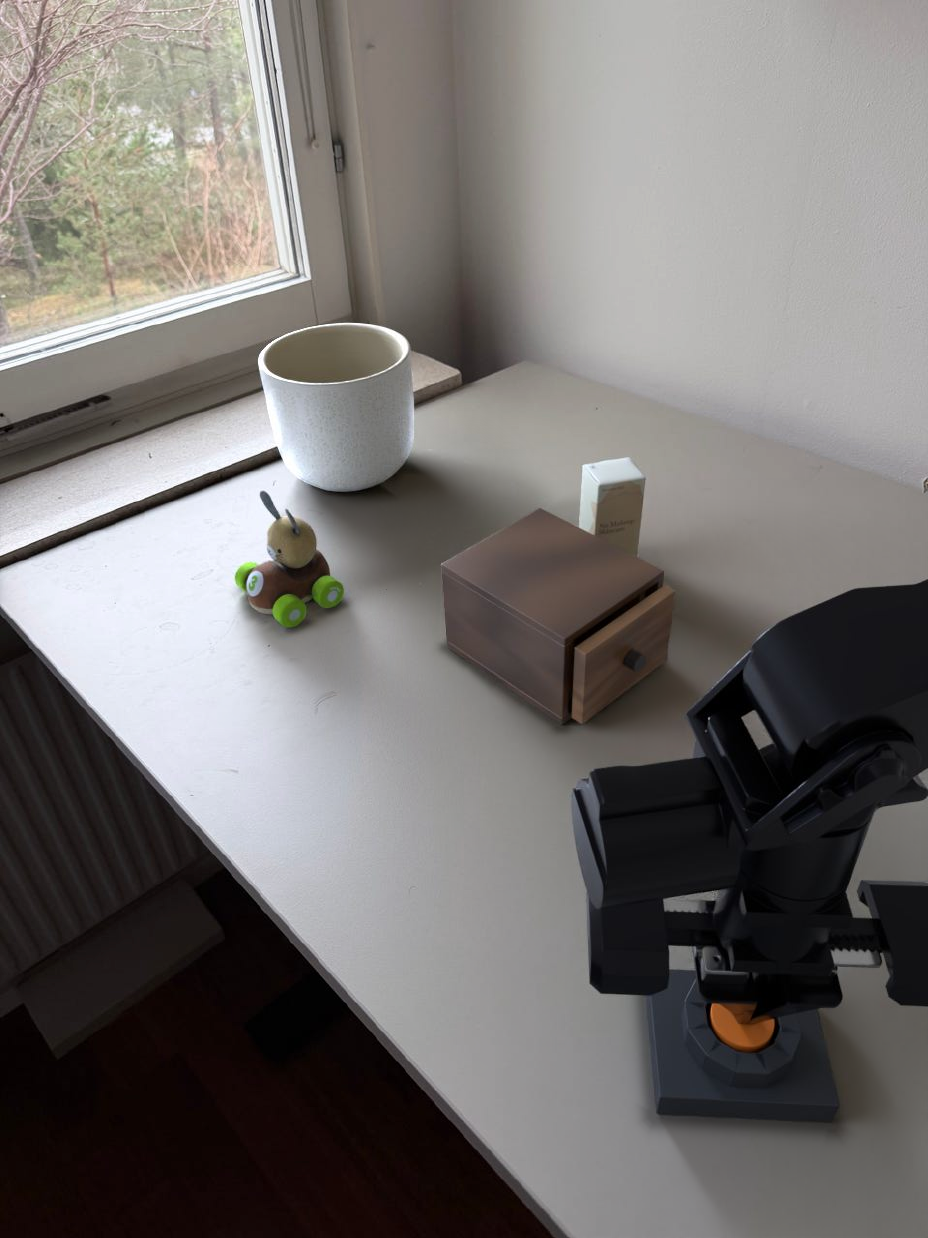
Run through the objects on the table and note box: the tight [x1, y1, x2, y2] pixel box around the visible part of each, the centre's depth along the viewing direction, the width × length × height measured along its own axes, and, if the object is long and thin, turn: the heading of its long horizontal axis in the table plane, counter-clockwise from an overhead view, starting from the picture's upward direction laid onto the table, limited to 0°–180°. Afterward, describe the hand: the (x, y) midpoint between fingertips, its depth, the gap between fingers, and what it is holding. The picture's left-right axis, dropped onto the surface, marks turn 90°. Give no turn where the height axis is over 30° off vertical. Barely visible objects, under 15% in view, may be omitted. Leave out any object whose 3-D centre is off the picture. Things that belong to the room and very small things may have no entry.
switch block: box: [645, 968, 841, 1124], centre depth 56 cm, size 10×8×4 cm
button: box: [708, 1003, 775, 1053], centre depth 55 cm, size 4×4×2 cm
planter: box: [257, 322, 415, 493], centre depth 109 cm, size 17×17×15 cm
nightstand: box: [440, 507, 665, 726], centre depth 84 cm, size 15×13×10 cm
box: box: [578, 456, 647, 557], centre depth 94 cm, size 5×4×11 cm
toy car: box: [234, 490, 345, 628], centre depth 91 cm, size 9×9×11 cm
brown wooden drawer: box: [569, 584, 676, 725], centre depth 82 cm, size 15×11×8 cm
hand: (743, 1016), depth 55 cm, fingers closed, pressing on button
